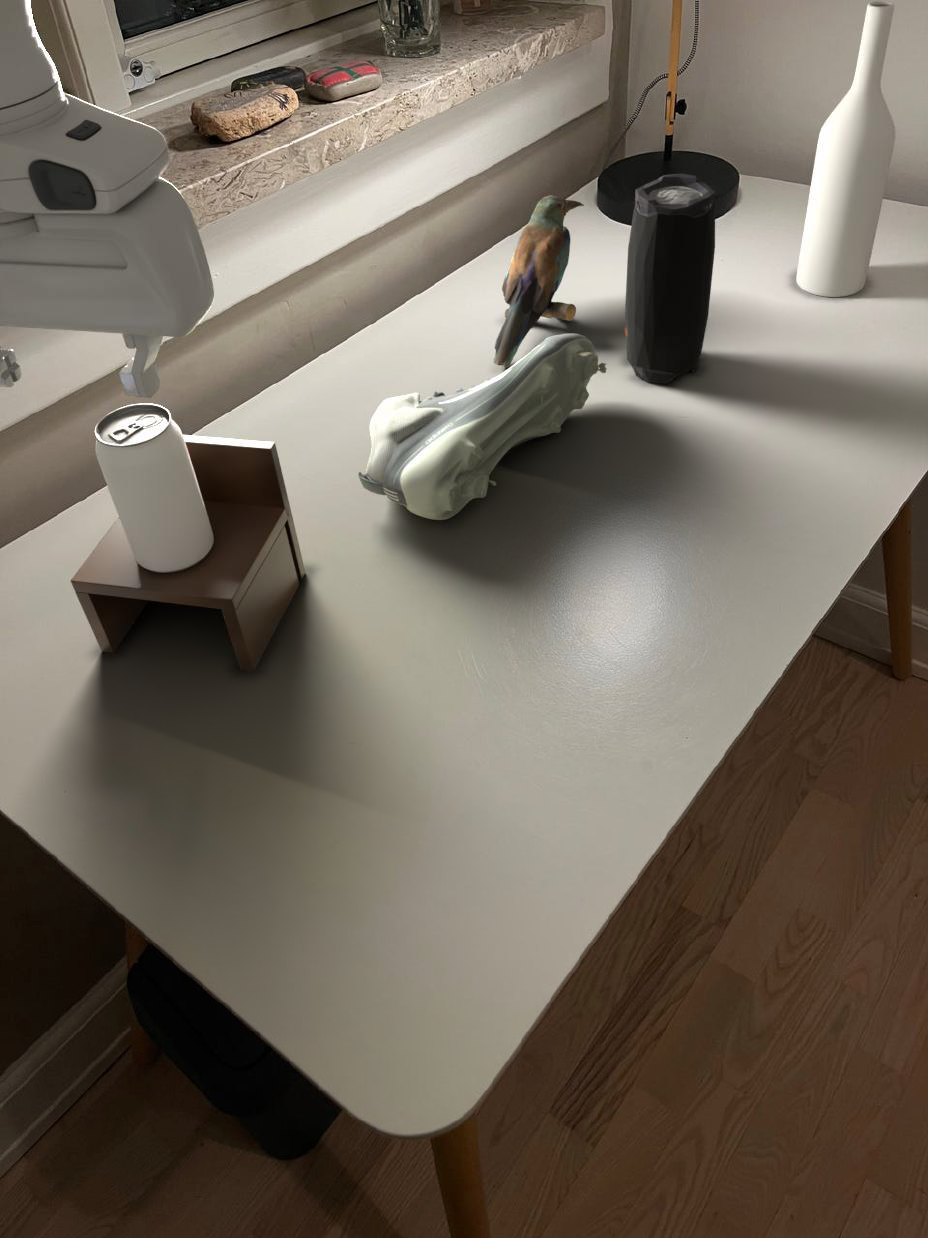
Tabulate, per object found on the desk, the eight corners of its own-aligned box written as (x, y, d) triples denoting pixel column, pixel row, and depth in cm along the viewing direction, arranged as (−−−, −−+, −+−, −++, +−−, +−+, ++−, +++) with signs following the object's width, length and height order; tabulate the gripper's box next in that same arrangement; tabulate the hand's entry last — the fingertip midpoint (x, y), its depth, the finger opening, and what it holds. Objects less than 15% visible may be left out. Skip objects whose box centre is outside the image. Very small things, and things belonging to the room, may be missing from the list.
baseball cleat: (619, 316, 103) (494, 281, 110) (443, 456, 87) (310, 405, 94) (615, 403, 110) (497, 366, 117) (451, 549, 94) (326, 494, 101)
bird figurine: (545, 374, 113) (576, 180, 108) (464, 361, 117) (491, 173, 112) (582, 379, 125) (612, 204, 120) (508, 367, 129) (534, 197, 124)
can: (231, 545, 84) (194, 418, 75) (165, 587, 80) (119, 459, 72) (184, 515, 87) (144, 391, 79) (120, 553, 84) (71, 428, 76)
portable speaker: (616, 384, 112) (622, 204, 99) (633, 342, 118) (640, 168, 105) (696, 391, 110) (713, 209, 96) (708, 348, 116) (726, 171, 103)
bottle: (873, 274, 126) (932, -5, 106) (853, 302, 121) (912, 16, 101) (807, 262, 130) (852, -10, 109) (786, 290, 125) (829, 11, 104)
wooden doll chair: (101, 651, 87) (43, 521, 78) (165, 556, 96) (120, 429, 86) (253, 671, 84) (213, 539, 75) (305, 572, 93) (275, 441, 83)
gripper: (-221, 169, 53) (-105, 402, 63) (139, 179, 49) (205, 427, 59) (-143, 127, 58) (-46, 351, 67) (193, 134, 54) (246, 371, 63)
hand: (74, 387), depth 63 cm, fingers open, 8 cm apart
